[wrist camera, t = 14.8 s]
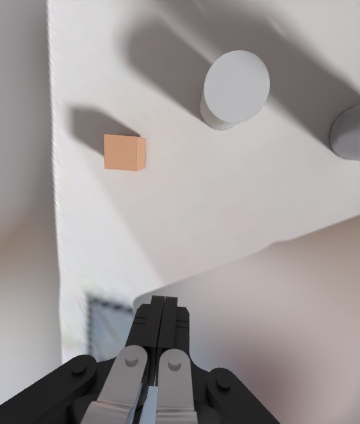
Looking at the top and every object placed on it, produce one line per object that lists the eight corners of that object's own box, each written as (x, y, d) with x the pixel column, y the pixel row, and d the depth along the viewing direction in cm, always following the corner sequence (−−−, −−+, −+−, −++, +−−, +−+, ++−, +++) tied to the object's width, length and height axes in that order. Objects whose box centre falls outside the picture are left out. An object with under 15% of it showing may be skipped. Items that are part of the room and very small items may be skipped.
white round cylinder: (196, 85, 39) (199, 58, 27) (243, 76, 38) (267, 43, 26) (203, 134, 41) (208, 128, 29) (248, 126, 40) (272, 116, 28)
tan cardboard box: (145, 138, 40) (137, 136, 34) (144, 167, 42) (136, 171, 35) (117, 136, 40) (103, 134, 34) (117, 165, 42) (104, 168, 35)
